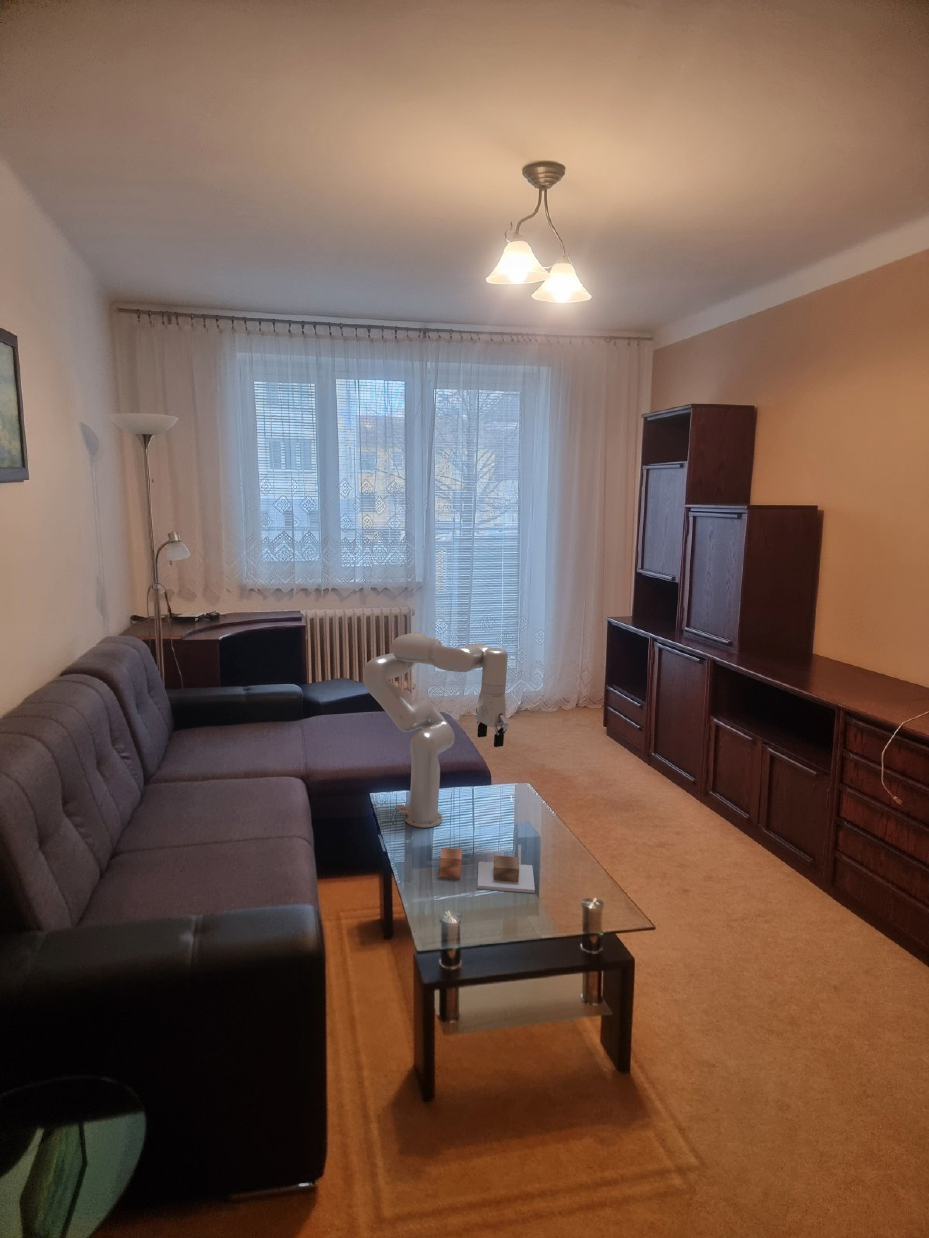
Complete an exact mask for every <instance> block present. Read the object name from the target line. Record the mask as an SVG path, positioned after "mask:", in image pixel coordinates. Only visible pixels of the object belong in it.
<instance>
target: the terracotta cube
mask: <svg viewBox="0 0 929 1238" xmlns="http://www.w3.org/2000/svg"><path fill="white" fill-rule="evenodd" d="M462 858H463V849H460V848H449V847H447V848H446V847H441V853H440V860H439V861H440V862H439V875H438V877H439V878H445V879H446V878H448V879H449V878H450V879H459V880H460V879H461V872H462V860H463V859H462Z"/></svg>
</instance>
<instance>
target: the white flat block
mask: <svg viewBox="0 0 929 1238" xmlns="http://www.w3.org/2000/svg"><path fill="white" fill-rule="evenodd" d="M493 857H494V858H493V859H494V860H493V862H491V861H477V862H478V863H477V888H476V889H477V890H489V891H499V892H501V891H502V892H503V891H504V892H512V893H513V892H514V893H516V892H517V893H529V894H535V892H536V887H535V877H534V869H533V865H532V864H530V865H529V864H520V862H519V860H520V858H519V856H506V855H494V856H493Z"/></svg>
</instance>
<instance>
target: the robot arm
mask: <svg viewBox="0 0 929 1238" xmlns="http://www.w3.org/2000/svg"><path fill="white" fill-rule="evenodd" d="M390 650H391V653H386V654H383V655H382V654H381V655H379V656H376V657H373V658H372V659H370V660H369V661H368V662H366V664H365V666H364V667H363V672H362V679H363V684H364V687H365V688H366V690H367V691H368V693H369V694H370V695H371V696H372V697H373V699H375V700H376V702H377V704H379V705H380V707H382V709H383V710H384V712H386V714H387V716H388V717H389V718H390V719H391V721H392V722H393V723H394V724H395V726H396V727H397V728H398V729H399V730H400V731H402V732H404V733H410V732H414V731H416V730H418V729H420V730H418V731H417V732H415V733H414V734H413V735H412V737H411V739H410V741H409V751H410V759H411V760H410V761H411V766H410V767H411V769H410V773H411V774H410V793H409V803H408V804H409V805H408V804H406V805H396V809H395V811H396V812H398V814H399V815H404V816H403V817H404V818H405V820H404V822H405V821H406V822H407V823H406V822H405V823H406V824H408V825H409V826H412V827H415V828H421V829H422V828H423V829H424V828H425V829H426V828H433V827H437V826H438V825H440V824H441V823H442V821H443V816H442V814H441V813H439V798H440V782H441V781H440V780H441V766H440V762H439V758H438V756H439V755H440V754H441V753H443V752H444V751H446V750H449V749H450V748H451V747H453V745H454V743H455V738H456V737H455V733H454V730H453V728H452V726H451V725H450V723H449V722H448V721H447V720H446V719H445V717H444V716H443V715H442V713H440V712H439V710H438V709H437V707H435V705H434V704H433V703H431V701H429V700H428V699H425V698H415V699H413V700H410V698H409V697H408V696H406V694H405V693H404V692H403V691H402V689H400V688H399V687H398V686H397V685H396V684H393V683H392V682H391V681H390V680H392V679H396V678H399V677H402V676H403V675H405V674H407V673H408V672H409V671H411V669H412V668H414V666H416V665H417V664H425V665H431V666H432V667H433V666H434V667H435V668H437V669H439V670H441V671H443V670H444V671H448V672H455V673H467V672H471V671H474V670H475V669H481V670H482V671H481V685H480V686H481V689H480V691H479V695H478V700H477V707H476V708H475V714H476V717H475V718H476V720H477V722H476V723H477V738H486V737H488V727H489V728H493V730H494V735H493V737H494V738H493V747H494V748H499V747H504V741H505V739H504V738H505V735H506V732H507V731H508V726H509V722H508V721H507V719H506V716H507V715H506V711H507V710H506V709H507V708H506V707H507V706H506V688H507V687H506V686H507V671H508V656H509V655H508V651H506V649H503V648H497V647H491V646H487V645H485V644H483V643H473V644H470V645H467V646H466V645H465V646H463V647H453V646H451V647H450V646H445V645H443V643H442V642H441V641H440V640H439V639H438V638H434V637H433V638H432V637H427V635H425V634H423V633H421V632H417V631H416V632H410V633H406V634H402V635H398V636H397V637H396V638H394V639H393V641H392V642H391V646H390Z"/></svg>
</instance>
